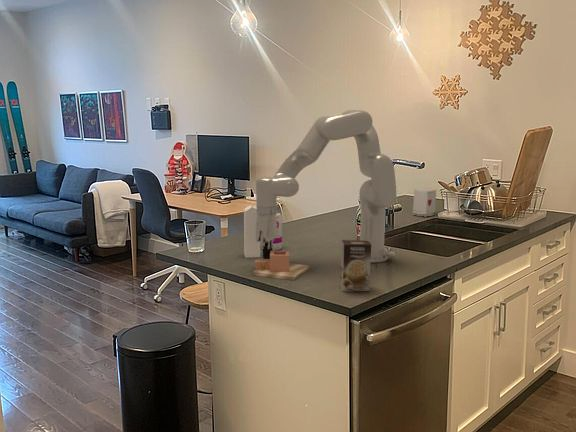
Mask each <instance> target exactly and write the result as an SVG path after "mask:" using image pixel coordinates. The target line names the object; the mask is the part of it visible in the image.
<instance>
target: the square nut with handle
mask: <svg viewBox="0 0 576 432" xmlns="http://www.w3.org/2000/svg"><path fill="white" fill-rule="evenodd" d="M261 262H264V270H270V272H289V263H290V250H275V251H270V259H255V260H254V271H255V270H261Z"/></svg>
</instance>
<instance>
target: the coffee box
mask: <svg viewBox="0 0 576 432" xmlns="http://www.w3.org/2000/svg"><path fill="white" fill-rule="evenodd" d="M340 249H341V253H340V278H339V281H340V282H339V286H340V289H341V291H342V292H354V291H369V292H370V281H371V280H370V278H371V263H372V262H371V243H370V242H368V241H363V240H360V239H359V240H356V239H352V240H351V239H342V240H341V248H340Z"/></svg>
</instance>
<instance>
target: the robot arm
mask: <svg viewBox="0 0 576 432" xmlns="http://www.w3.org/2000/svg"><path fill="white" fill-rule="evenodd" d="M373 122H374V121H373V117H372V116H371V114H370V113H369V112H368V111H365V110H361V109H360V110H359V109H347V110H346V111H343V112H342V113H341V114H340V115H336V116H335V115H334V116H325V115H324V116H320V117H318V118H317V119H316V120H315V121H314V123H312V126H311V127H310V129H309V130H308V131H307V134H306V135H305V136H304V138H303V139H302V140H301V142H300V143H299V144H298V146H297V148H296V149H295V150H293V152H292V153H291V154H290V155H289V156H288V157H287V158H286V159H285V160H284V161H283V163H282V164H281V165H280V167H279V168H278V169H277V171H276V172H275V174H274V176H273V177H272V176H261V177H258V178H256V180H255V194H256V195H255V197H256V198H255V200H256V201H255V203H256V204H255V205H256V206H255V207H256V208H257V219H256V241H257V242H259V241H260V247H261V249H262V260H270V251H272V247H273V241H274V238H276V236H277V221H276V215H277V213H278V204H277V203H278V202H277V199H278V198H277V197H282V198H283V197H284V198H291V197H293V196H295V195H296V194H297V193H298V192H299V190H300V185H299V182H298V181H297V179H296V178H297V176H298V175H299V173H300V172H301V171H302V170H303V169H305V168H307V167H308V166H311V165H312V164H314V163H315V162H316V161H318V160H319V158H320V156H321V154H322V153H323V151H324V150H326V149H325V148H326V147H327V146H328V144H329V143H330V142H331V141H339V140H344V139H348V138H352V137H353V139H354V140H355V142H356V147H357V155H358V164H359V170H360V173H361V174H362V175H364V176H365V177H368V178H371V179H367V180H366V181H364V182H363V183H362V185H360V188H359V203H360V226H359V227H360V231H359V240H363V241H368V242H370V243H371V262H370V263H383V262H386V261H387V260H388V257H390V258H395V254H396V253H395V251H393V250H387V248H386V247H385V233H386V232H385V230H386V229H385V228H386V210H385V209H388V208H390V207H391V206H393V205H394V203H395V202H396V199H397V181H396V172H395V166H394V163H393V161H392V159H391V158H390V157H389V156H388V155H386V154H384V153H383V154H382V152H381V146H380V140H379V136H378V132H377V130H376V128H375V127H374V125H373Z"/></svg>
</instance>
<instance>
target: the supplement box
mask: <svg viewBox="0 0 576 432" xmlns="http://www.w3.org/2000/svg"><path fill="white" fill-rule="evenodd" d="M413 190H414V191H413V204H412V207H413V208H412V214H413V213H417V214H431V213H434V212H435V213H436V203H437V189H434V188H433V189H432V188H426V187H421V188H415V189H413Z"/></svg>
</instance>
